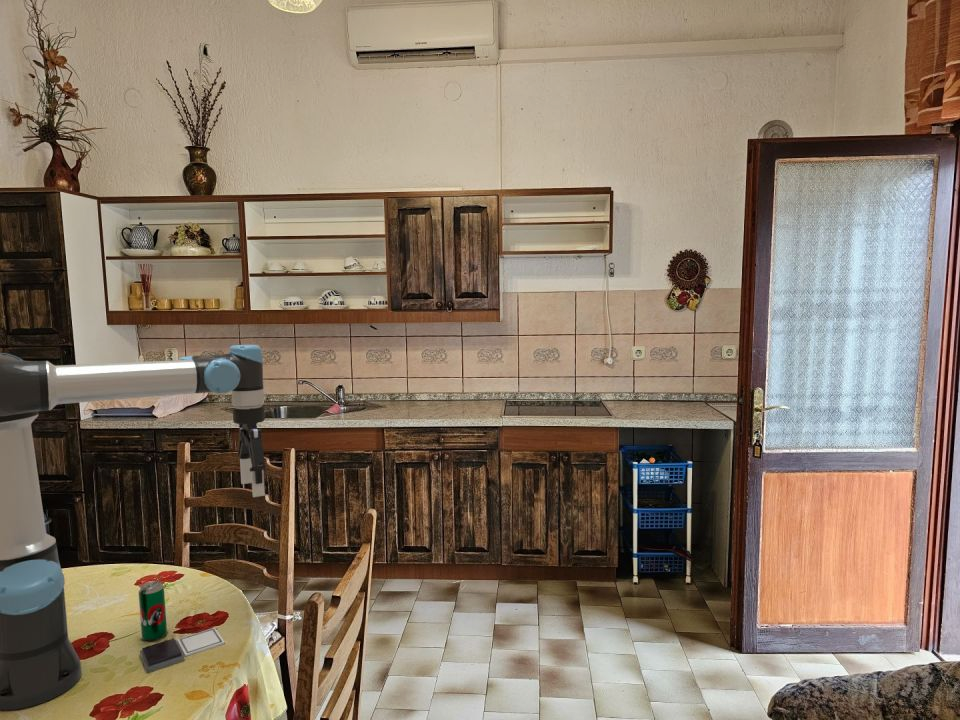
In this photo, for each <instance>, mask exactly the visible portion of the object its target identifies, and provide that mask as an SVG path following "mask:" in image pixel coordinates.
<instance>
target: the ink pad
mask: <svg viewBox="0 0 960 720" xmlns="http://www.w3.org/2000/svg"><path fill="white" fill-rule="evenodd" d="M139 657H140V659H141V662H142V664H143V666H144V669H145V671H146V674H149V673H151V672H155V671H158V670H160V669H164V668H167V667H170V666H173V665H175V664H178V663H181V662H185V655H184V653H183V651H182V649H181V648H180V646H179V644H178V642H177V639H175V638H174V637H173V638H170V639H167V640H163V641H160V642H157V643H154V644H151V645H147V646H145V647H141V649H140V650H139Z"/></svg>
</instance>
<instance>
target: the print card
mask: <svg viewBox="0 0 960 720" xmlns="http://www.w3.org/2000/svg"><path fill="white" fill-rule="evenodd" d="M176 641H177V643H178V645H179V647H180V648H181V650H182V652H183V654H184V658H186V657H189V656H191V655H195V654H199V653H201V652H203V651H207V650H210V649H214V648H217V647H219V646H223V645H225V644H226V642H225V640H224V638H223V637H222V636H221V634H220V632H219V631H218V630H217V628H216V627H212V628H209V629H206V630H203V631H199V632H197V633H193V634H188V635H186V636H183V637H180V638H177V639H176Z"/></svg>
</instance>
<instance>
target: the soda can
mask: <svg viewBox="0 0 960 720" xmlns="http://www.w3.org/2000/svg"><path fill="white" fill-rule="evenodd" d="M162 583H163V582H162V581H160V580H152V581H147V582H144V583H142V584H141V585H140V586H139V589H138V591H137V592H138V603H139V605H138V606H139V616H140V617H139V618H140V620H139V621H140V631H141V632H140V633H141V638H142V639H143V640H144V641H147V642H153V641H158V640H159V639H161V638H163V637H164V636H165V635H166V634H167V633H168V625H167V612H166V611H167V610H166V597H165V587H164V584H162Z"/></svg>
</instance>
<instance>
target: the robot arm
mask: <svg viewBox="0 0 960 720" xmlns="http://www.w3.org/2000/svg"><path fill="white" fill-rule="evenodd" d="M263 366H264V362H263V353H262V348H261V347H260V345H258V344H239V345H231V346H230V347H229V351H228V353H225V354H224V353H223V354H207V355H206V354H204V355H202V354H201V355H200V354H199V355H194V354H192V355H189V356H180V357H179V358H178V360H177V359H175V360H155V361H153V360H151V361H133V362H131V361H130V362H114V363H113V362H110V363H108V362H107V363H90V364H88V363H84V364H65V365H64V364H63V365H55V364H53V363H51V362H50V361H49V360H39V361H36V360H35V361H33V360H31V361H30V360H29V361H28V360H24V359H22V358H20V357H18V356H16V355H13V354H10V353H5V352H4V353H0V711H15V710H21V709H27V708H30V707H34V706H36V705H40V704H43V703H45V702H48V701H50V700H53V699H55V698H57V697H58V696H61V695H62V694H65V692H67V691H69V690H70V689H71V688H73V686H75V685H76V683H78V682H79V680H80V679H81V677H82V674H83V673H82V663H81V658H79V656H78V653H77V652H76V650H75V648H74V646H73V644H72V643H71V641H70V639H69V633H68V632H69V631H68V620H67V619H68V618H67V607H66V597H65V581H66V580H65V579H66V578H65V575H64V573H63V569H62V568H61V564H60V560H59V553H58V546H57V541H56V538H55V536H52V535H50V534H48V533H47V529H46V524H45V522H46V521H45V516H44V509H43V502H42V496H41V495H42V494H41V487H40V480H39V474H38V466H37V460H36V459H37V458H36V452H35V450H36V449H35V445H34V438H33V431H32V424H33V422H34V421H35V420H36V419H37V418H38V416H39V412H43V411H52V409H53V408H55V407H56V406H57V405H63V404H64V405H65V404H67V405H68V404H77V403H89V402H90V403H91V402H102V401H103V402H104V401H115V400H117V401H118V400H127V399H140V398H152V397H164V396H165V397H166V396H179V395H189V394H207V393H208V394H209V393H214V394H227V393H230V392H231V403H232V404H231V405H232V407H234V408H233V409H232V420H233V423H234V424H238V429H239V430H238V434H239V435H238V443H237V444H238V447H237V455H238V457H239V465H240V467H239V468H240V483H241V485H246V484H251V490H252V492H251V493H252V497H253V498H258V497H262V496H263V497H264V496H265V494H266V492H265V472H264V470H265V469H266V467H267V465H266V461H265V453H264V448H263V447H264V446H263V440H262V429H261V428H258V425H257V424H258V423H262V422H264V421H265V420H266V411H265V406H263V405H264V404H265V397H264V396H266V395H267V392H266V391H264V367H263Z"/></svg>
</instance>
